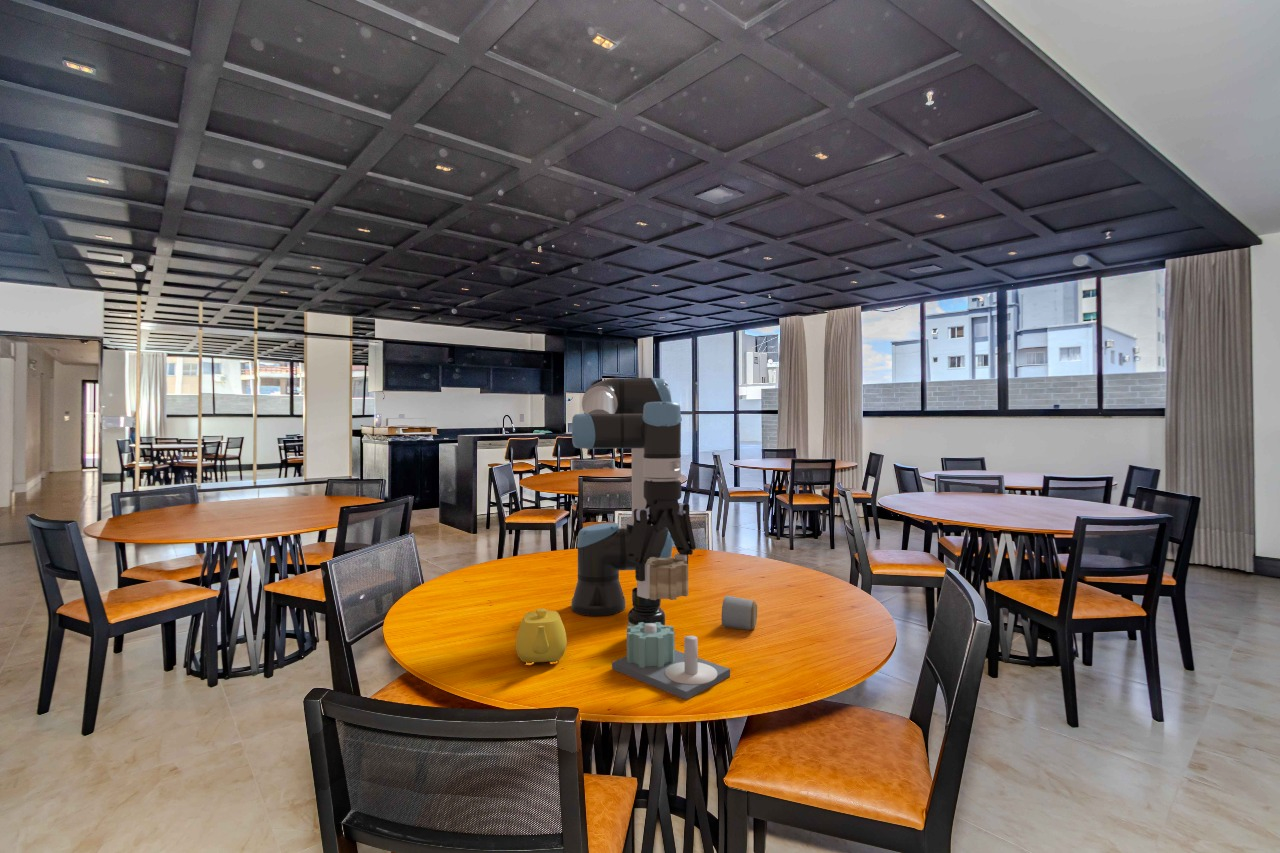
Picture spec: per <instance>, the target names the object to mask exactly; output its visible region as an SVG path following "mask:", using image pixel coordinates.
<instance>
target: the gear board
mask: <svg viewBox="0 0 1280 853" xmlns="http://www.w3.org/2000/svg"><path fill="white" fill-rule="evenodd" d="M675 636H676V634H675V631H674V626H673V625H666V624H665V625H662V624H661V622H655V623H644V622H640V623H638V625H636V626H633V627H632V626H628V625H627V627H626V656H624V657H621V658H618V659H616V660H613V661H611V670H613V671H615V670H616V672H618V673H621V674H622V673H623V674H622V675H624V676H625V675H626V676H627V675H628V676H627V677H630V676H631V677H630V678H632V677H633V678H632V679H635V680H637V681H640V682H642V683H644V684H647V685H650V686H652V687H655V688H657V689H659V690H662V691H664V692H666V693H668V694H671V695H674V696H676V697H678V698H681V699H683V700H685V701H687V700H689V699H691V698H692V697H695V696H696V695H698V694H700V693H702V692H704V691H705V690H708V689H709V688H711V687H713V686H715V685H716V684H719V683H720V682H723V681H724V680H726V679H728V678H729V677H731V668H729V667H725V666H723V665H720V664H717V663H714V662H712V661H708V660H705V659H703V658H699V656H698V655H699V653H698V651H699V650H698V648H699V647H698V646H699V644H698V637H697V636H695V635H687V636H684V638H683V640H684V643H683V644H684V648H683V649H684V652H682V651H679V650H676V647H675V646H676V642H675V640H676V639H675Z"/></svg>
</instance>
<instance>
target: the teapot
mask: <svg viewBox="0 0 1280 853" xmlns="http://www.w3.org/2000/svg"><path fill="white" fill-rule="evenodd" d="M515 640H516V641H515V651H516V653H517V655H518V657H519V659H520V660H521V661H522V662H524V663H525V662H527V663H532V662H534V663H544V662H548V661H549V662H556V661H558V662H559V660H560V659H561V658H562V657H563V656H564V654H565V652H566V649H567V644H568V640H567V633H566V629H565V625H564V623H563V621H562V618H561V616H560V613H559V612H557V611H556V610H548V609H546V608H544V607H541V608H537V609H535V611H534V610H533V611H529V612H528V611H527V613H525V614H524V616H523V618H522V620H521V622H520V624H519V627H518V631H517V634H516V639H515ZM549 662H548V663H549Z"/></svg>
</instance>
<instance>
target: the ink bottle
mask: <svg viewBox="0 0 1280 853" xmlns="http://www.w3.org/2000/svg"><path fill="white" fill-rule="evenodd" d="M631 595H632V596H631V601H632V608H631V609H630V610H629V611H628V614H627V627H628V626H632V627H633V626H636V625H638V623H640V622H644V623H655V622H661V624H662V625H665V626H666V614H665V611H664V610H663V609H662V608H661V603H662V599H657V600H650V598H649V599H646V598H643V597H639V596H637V587H634V588H632V591H631Z"/></svg>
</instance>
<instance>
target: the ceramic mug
mask: <svg viewBox="0 0 1280 853" xmlns="http://www.w3.org/2000/svg"><path fill="white" fill-rule="evenodd" d="M757 619H758V604H757V602H756V601H754V600H752V599H747V598H742V597H737V596H730V595H725V596H724V597H723V601H722V605H721V625H722V627H723V628H730V629H738V630H739V629H740V630H747V631H748V630H754V629H755V628H756V625H757Z"/></svg>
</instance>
